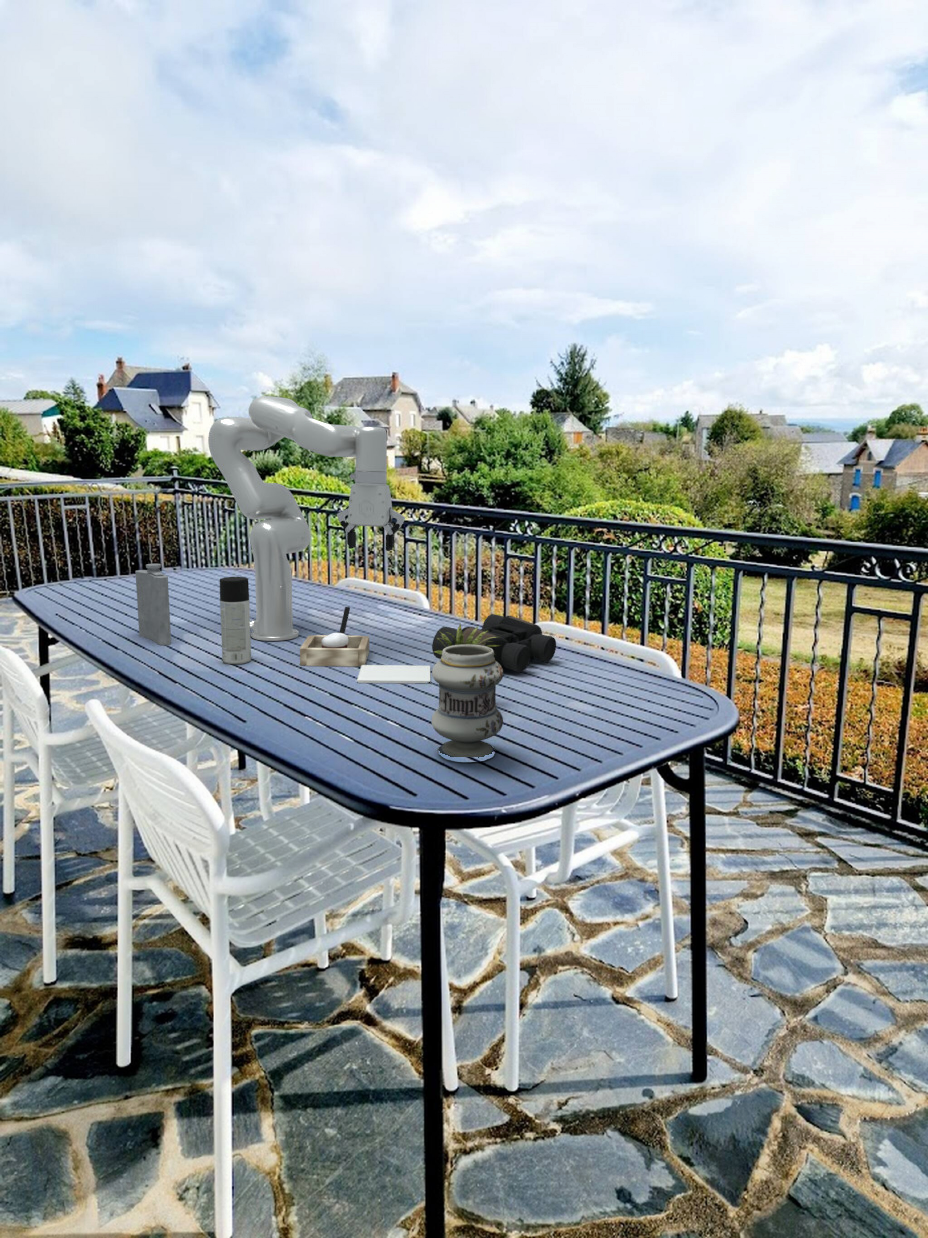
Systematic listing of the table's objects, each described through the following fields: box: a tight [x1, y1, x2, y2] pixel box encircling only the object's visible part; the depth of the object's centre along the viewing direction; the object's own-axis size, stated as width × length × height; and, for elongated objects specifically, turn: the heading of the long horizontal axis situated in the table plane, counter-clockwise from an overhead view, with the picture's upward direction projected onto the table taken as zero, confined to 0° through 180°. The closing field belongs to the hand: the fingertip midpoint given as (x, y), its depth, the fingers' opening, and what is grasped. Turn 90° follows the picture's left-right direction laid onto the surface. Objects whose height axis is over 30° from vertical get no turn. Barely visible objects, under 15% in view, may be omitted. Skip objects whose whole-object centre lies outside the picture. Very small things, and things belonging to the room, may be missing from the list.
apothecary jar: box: [430, 644, 504, 758], centre depth 133 cm, size 12×12×18 cm
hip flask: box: [135, 563, 172, 646], centre depth 208 cm, size 16×4×20 cm, turn 42°
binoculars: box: [431, 613, 557, 673], centre depth 194 cm, size 29×20×10 cm
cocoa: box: [322, 606, 351, 648], centre depth 194 cm, size 10×6×12 cm, turn 124°
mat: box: [356, 664, 431, 684], centre depth 181 cm, size 16×13×1 cm
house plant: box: [434, 623, 500, 655], centre depth 160 cm, size 14×14×16 cm
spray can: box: [219, 576, 252, 665], centre depth 188 cm, size 7×7×20 cm
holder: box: [299, 634, 370, 667], centre depth 195 cm, size 15×15×4 cm
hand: (370, 549), depth 197 cm, fingers open, 9 cm apart
